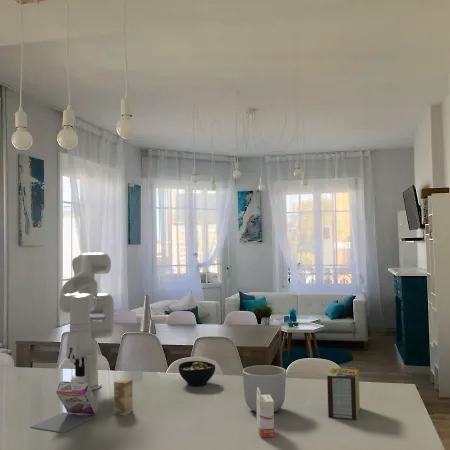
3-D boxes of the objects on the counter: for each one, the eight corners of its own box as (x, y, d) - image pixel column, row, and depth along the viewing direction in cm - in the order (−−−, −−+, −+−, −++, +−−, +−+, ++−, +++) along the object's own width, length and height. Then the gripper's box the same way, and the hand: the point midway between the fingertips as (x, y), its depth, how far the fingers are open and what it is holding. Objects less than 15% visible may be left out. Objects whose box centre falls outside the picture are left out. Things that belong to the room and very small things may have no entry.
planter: (262, 400, 208) (262, 363, 209) (295, 409, 196) (295, 369, 197) (233, 410, 196) (233, 370, 197) (267, 420, 184) (266, 378, 185)
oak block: (114, 413, 194) (114, 382, 195) (121, 409, 199) (121, 378, 199) (125, 415, 192) (125, 383, 193) (132, 411, 197) (132, 380, 197)
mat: (30, 427, 180) (30, 426, 180) (63, 413, 196) (63, 412, 196) (63, 433, 174) (63, 432, 174) (95, 417, 190) (95, 416, 190)
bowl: (187, 391, 223) (187, 368, 223) (173, 382, 238) (172, 361, 238) (222, 386, 231) (221, 364, 231) (205, 377, 246) (205, 357, 246)
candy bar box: (67, 414, 194) (55, 393, 182) (71, 401, 197) (59, 380, 186) (95, 416, 193) (85, 394, 181) (99, 403, 196) (89, 382, 185)
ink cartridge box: (275, 437, 168) (274, 392, 169) (260, 438, 168) (259, 392, 168) (270, 428, 176) (269, 385, 177) (256, 428, 176) (255, 385, 177)
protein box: (360, 407, 198) (359, 367, 199) (356, 420, 183) (355, 377, 184) (332, 405, 201) (331, 365, 202) (327, 417, 187) (326, 375, 187)
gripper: (84, 324, 203) (84, 371, 202) (58, 330, 190) (58, 380, 189) (100, 325, 200) (100, 372, 199) (75, 331, 187) (75, 381, 186)
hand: (80, 376), depth 194 cm, fingers closed
